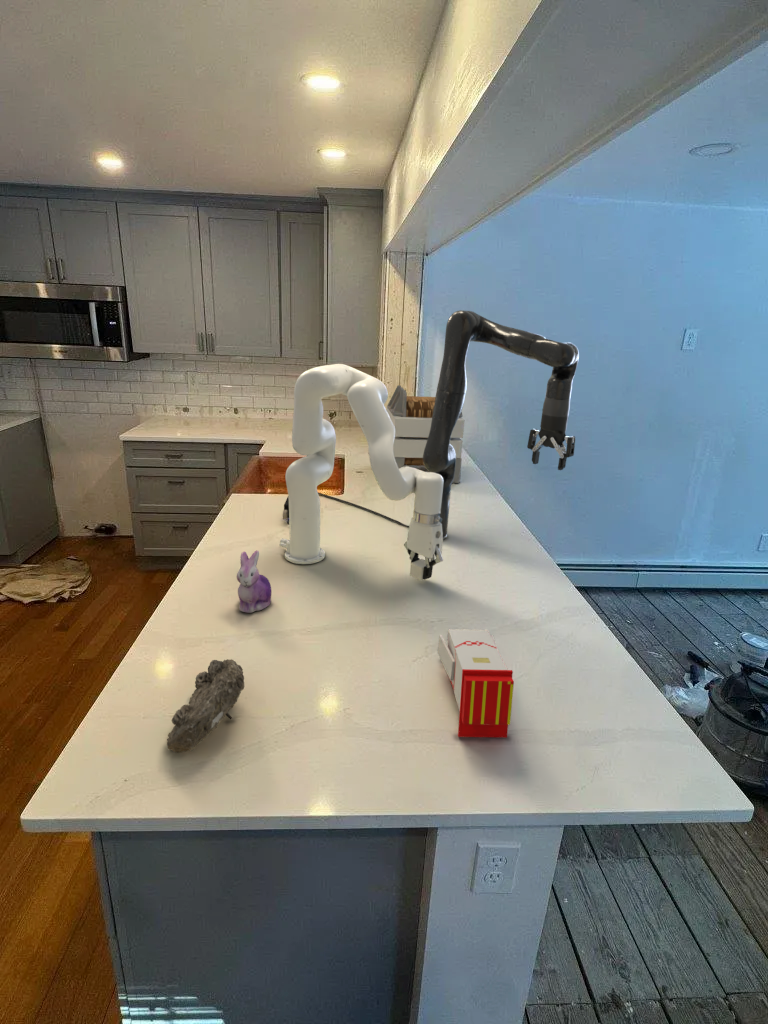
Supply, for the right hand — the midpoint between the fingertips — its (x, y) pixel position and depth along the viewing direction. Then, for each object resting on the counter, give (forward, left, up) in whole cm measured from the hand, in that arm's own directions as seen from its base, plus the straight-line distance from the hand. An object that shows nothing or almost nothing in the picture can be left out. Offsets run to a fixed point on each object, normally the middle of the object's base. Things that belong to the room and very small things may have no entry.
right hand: (547, 466), depth 172 cm
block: (-21, -36, -30) cm, 51 cm away
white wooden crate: (-83, +62, -32) cm, 108 cm away
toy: (+14, -73, -32) cm, 81 cm away
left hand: (-21, -36, -29) cm, 51 cm away
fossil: (-21, -111, -32) cm, 117 cm away
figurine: (-47, -76, -32) cm, 95 cm away
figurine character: (-84, -23, -32) cm, 92 cm away
